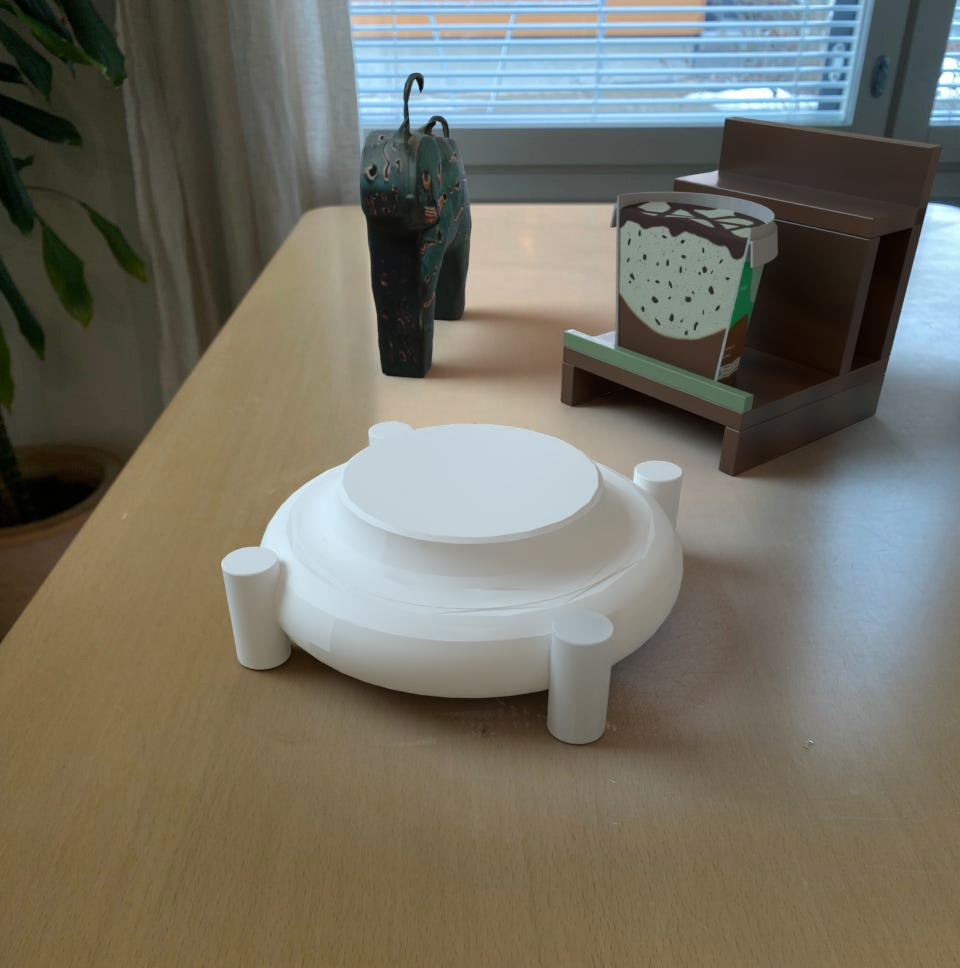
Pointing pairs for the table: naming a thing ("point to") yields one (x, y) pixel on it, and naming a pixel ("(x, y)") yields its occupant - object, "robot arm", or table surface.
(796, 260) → the step rack
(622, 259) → the food container
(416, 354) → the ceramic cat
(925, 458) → the table surface
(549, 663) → the round stand with pegs
